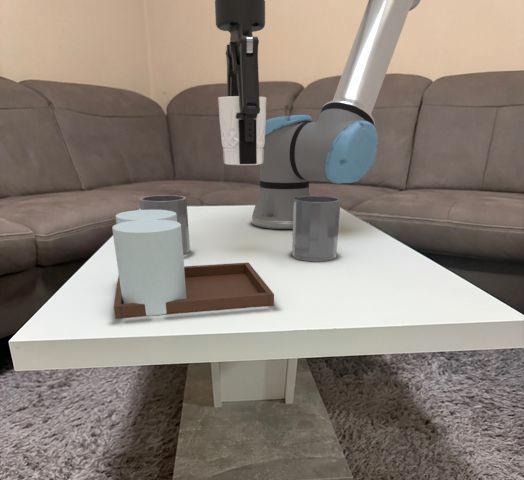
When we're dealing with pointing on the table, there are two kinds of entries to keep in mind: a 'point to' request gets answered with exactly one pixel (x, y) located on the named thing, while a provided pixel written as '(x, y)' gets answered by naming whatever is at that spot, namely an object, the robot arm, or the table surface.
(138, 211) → the blue round block
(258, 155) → the white cup
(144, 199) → the grey cup
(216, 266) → the tray
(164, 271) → the pale blue cylinder
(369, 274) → the table surface
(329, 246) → the grey cup
